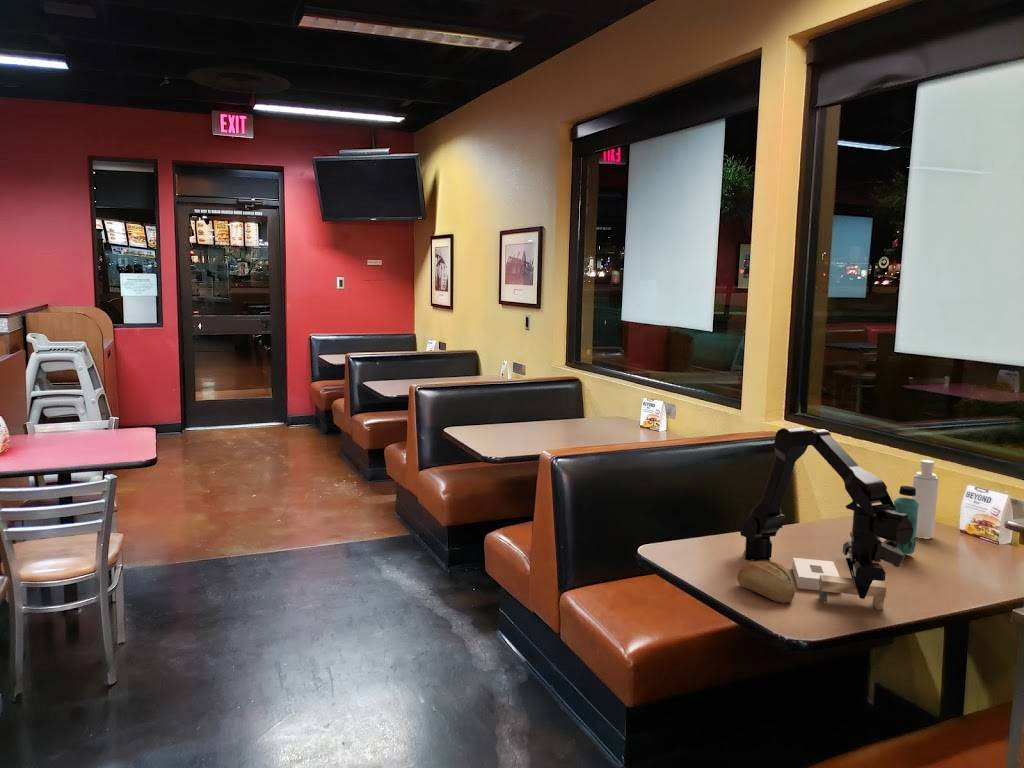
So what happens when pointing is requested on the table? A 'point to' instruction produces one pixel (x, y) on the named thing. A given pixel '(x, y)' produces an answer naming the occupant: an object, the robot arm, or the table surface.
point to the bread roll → (767, 580)
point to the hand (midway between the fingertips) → (860, 594)
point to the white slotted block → (812, 572)
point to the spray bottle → (926, 498)
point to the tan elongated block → (851, 588)
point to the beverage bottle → (911, 509)
